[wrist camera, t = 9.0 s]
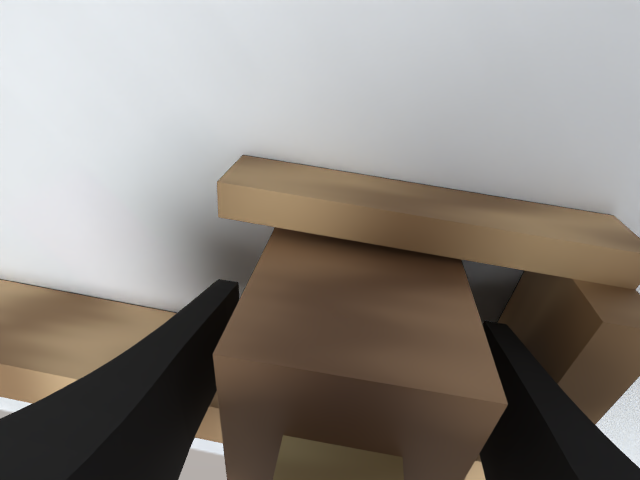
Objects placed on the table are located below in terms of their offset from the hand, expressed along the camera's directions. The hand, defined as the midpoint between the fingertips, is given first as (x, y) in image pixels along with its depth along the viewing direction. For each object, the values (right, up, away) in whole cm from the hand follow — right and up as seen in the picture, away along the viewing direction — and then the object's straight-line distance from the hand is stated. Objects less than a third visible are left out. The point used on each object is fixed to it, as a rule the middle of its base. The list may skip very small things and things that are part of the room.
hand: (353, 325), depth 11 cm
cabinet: (0, +1, +2) cm, 2 cm away
